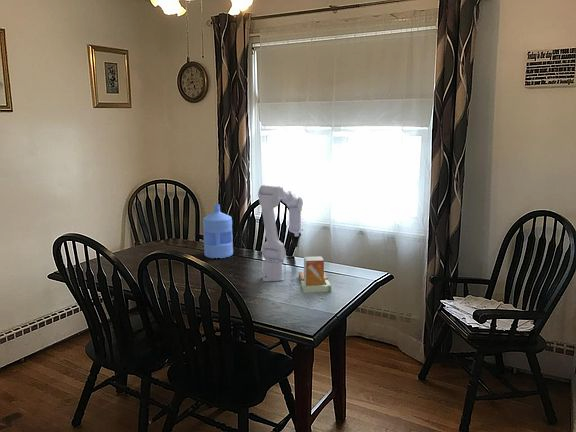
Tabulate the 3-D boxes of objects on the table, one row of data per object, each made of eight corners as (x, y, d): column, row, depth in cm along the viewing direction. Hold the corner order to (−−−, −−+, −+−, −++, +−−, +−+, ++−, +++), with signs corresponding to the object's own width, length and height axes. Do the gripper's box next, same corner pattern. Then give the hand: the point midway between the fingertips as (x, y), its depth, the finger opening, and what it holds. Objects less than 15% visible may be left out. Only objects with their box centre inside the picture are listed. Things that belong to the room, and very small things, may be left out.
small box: (305, 289, 215) (305, 260, 212) (303, 284, 221) (303, 256, 218) (324, 288, 216) (324, 260, 213) (321, 283, 222) (321, 255, 219)
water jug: (205, 251, 275) (202, 202, 269) (233, 250, 277) (231, 201, 271) (203, 259, 260) (201, 207, 254) (233, 258, 262) (231, 207, 256)
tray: (303, 292, 211) (303, 287, 210) (301, 286, 219) (301, 280, 218) (331, 291, 212) (331, 285, 212) (327, 285, 220) (327, 279, 219)
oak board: (301, 285, 221) (301, 279, 221) (298, 278, 231) (298, 272, 230) (328, 284, 223) (328, 277, 222) (323, 277, 232) (323, 271, 232)
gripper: (305, 223, 237) (305, 250, 239) (300, 217, 251) (301, 242, 253) (290, 223, 236) (290, 251, 239) (287, 217, 250) (287, 243, 253)
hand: (295, 246), depth 246 cm, fingers closed
